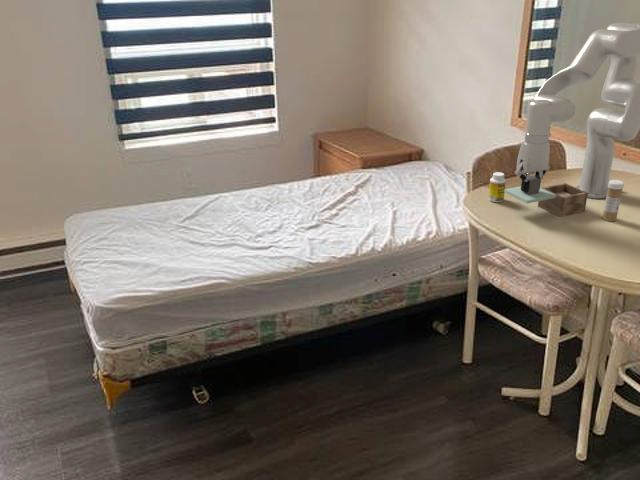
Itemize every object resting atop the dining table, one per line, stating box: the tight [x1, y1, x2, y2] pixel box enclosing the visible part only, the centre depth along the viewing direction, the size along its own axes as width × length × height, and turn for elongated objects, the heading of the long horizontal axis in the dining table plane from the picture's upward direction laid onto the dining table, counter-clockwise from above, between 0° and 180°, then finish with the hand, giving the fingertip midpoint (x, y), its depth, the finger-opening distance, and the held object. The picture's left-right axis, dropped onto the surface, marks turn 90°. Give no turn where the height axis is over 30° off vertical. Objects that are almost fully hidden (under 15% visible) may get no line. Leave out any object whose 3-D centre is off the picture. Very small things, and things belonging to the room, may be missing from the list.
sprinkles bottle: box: [601, 179, 625, 222], centre depth 197 cm, size 5×5×13 cm
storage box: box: [537, 182, 588, 218], centre depth 208 cm, size 11×11×7 cm
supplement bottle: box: [488, 171, 507, 203], centre depth 216 cm, size 6×6×10 cm
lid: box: [504, 175, 556, 204], centre depth 202 cm, size 12×12×7 cm
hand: (530, 189), depth 203 cm, fingers closed on lid, 4 cm apart
